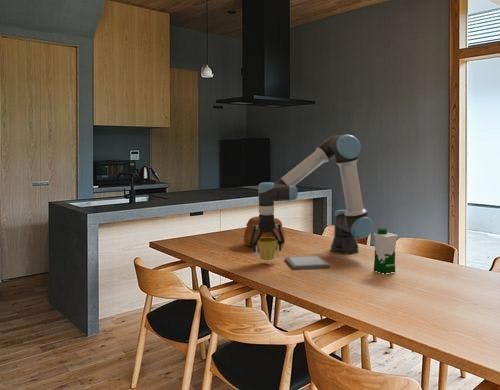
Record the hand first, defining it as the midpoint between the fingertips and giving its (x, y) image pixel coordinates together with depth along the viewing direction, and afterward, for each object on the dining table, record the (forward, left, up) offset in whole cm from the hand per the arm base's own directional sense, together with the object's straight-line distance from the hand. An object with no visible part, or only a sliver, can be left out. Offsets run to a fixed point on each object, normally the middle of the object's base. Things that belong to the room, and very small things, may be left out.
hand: (267, 257), depth 223 cm
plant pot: (0, 0, -1) cm, 1 cm away
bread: (-6, -39, -3) cm, 39 cm away
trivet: (-20, +3, -3) cm, 20 cm away
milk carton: (-52, +22, -3) cm, 56 cm away
